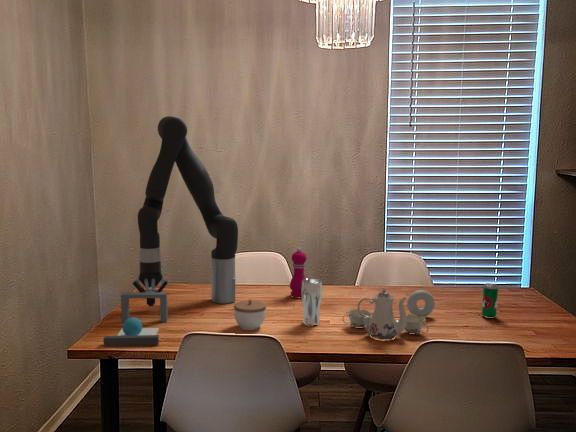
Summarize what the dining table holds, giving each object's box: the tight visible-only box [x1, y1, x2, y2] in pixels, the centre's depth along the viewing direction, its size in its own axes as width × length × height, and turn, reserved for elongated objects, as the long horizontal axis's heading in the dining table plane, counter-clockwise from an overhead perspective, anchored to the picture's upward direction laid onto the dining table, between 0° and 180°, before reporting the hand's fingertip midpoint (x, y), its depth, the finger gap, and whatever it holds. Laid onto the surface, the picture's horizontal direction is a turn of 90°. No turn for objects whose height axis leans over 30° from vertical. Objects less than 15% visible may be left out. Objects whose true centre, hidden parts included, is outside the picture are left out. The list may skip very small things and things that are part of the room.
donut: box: [406, 289, 436, 318], centre depth 195 cm, size 10×4×10 cm, turn 94°
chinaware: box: [342, 287, 429, 339], centre depth 177 cm, size 28×17×17 cm, turn 78°
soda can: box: [481, 282, 499, 317], centre depth 196 cm, size 5×5×12 cm
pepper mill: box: [289, 247, 308, 298], centre depth 220 cm, size 7×7×20 cm
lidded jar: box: [233, 299, 267, 331], centre depth 182 cm, size 11×11×9 cm
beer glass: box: [301, 278, 323, 325], centre depth 187 cm, size 7×7×15 cm
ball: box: [122, 317, 143, 336], centre depth 172 cm, size 6×6×6 cm
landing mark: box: [116, 327, 160, 336], centre depth 174 cm, size 12×12×1 cm
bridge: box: [120, 291, 169, 324], centre depth 187 cm, size 3×15×10 cm, turn 95°
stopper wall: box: [103, 334, 160, 347], centre depth 165 cm, size 16×2×2 cm, turn 95°
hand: (151, 305), depth 201 cm, fingers closed
